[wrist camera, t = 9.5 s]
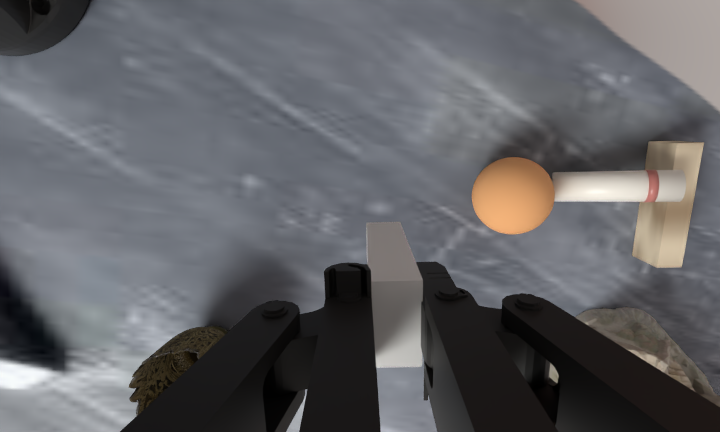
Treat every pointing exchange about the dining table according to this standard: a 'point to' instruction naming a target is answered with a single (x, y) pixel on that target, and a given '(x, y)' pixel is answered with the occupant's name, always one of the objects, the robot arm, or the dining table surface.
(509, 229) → the ball
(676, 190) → the pin
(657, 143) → the stopper rail
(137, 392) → the cup
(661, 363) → the ceramic cottage
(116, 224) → the dining table surface
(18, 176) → the dining table surface
